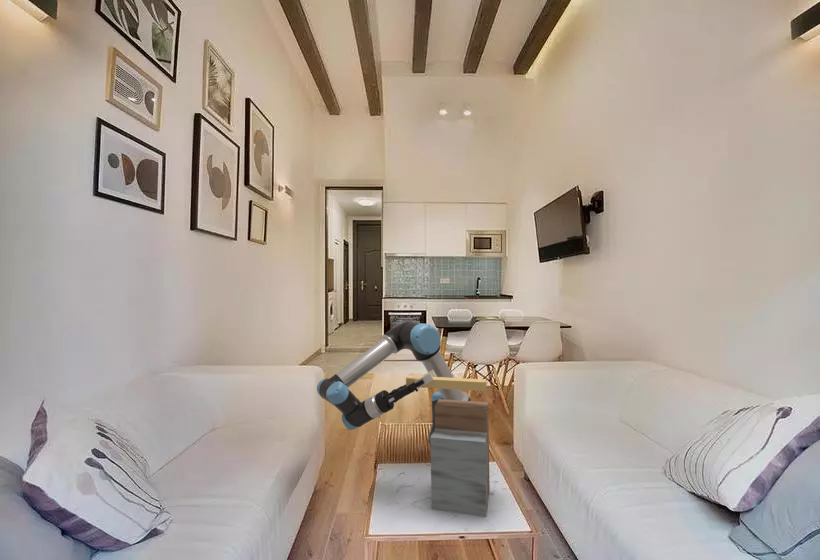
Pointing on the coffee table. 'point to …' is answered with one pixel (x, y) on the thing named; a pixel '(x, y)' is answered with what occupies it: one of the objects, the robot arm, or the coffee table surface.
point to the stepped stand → (460, 457)
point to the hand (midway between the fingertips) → (433, 374)
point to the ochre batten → (451, 383)
